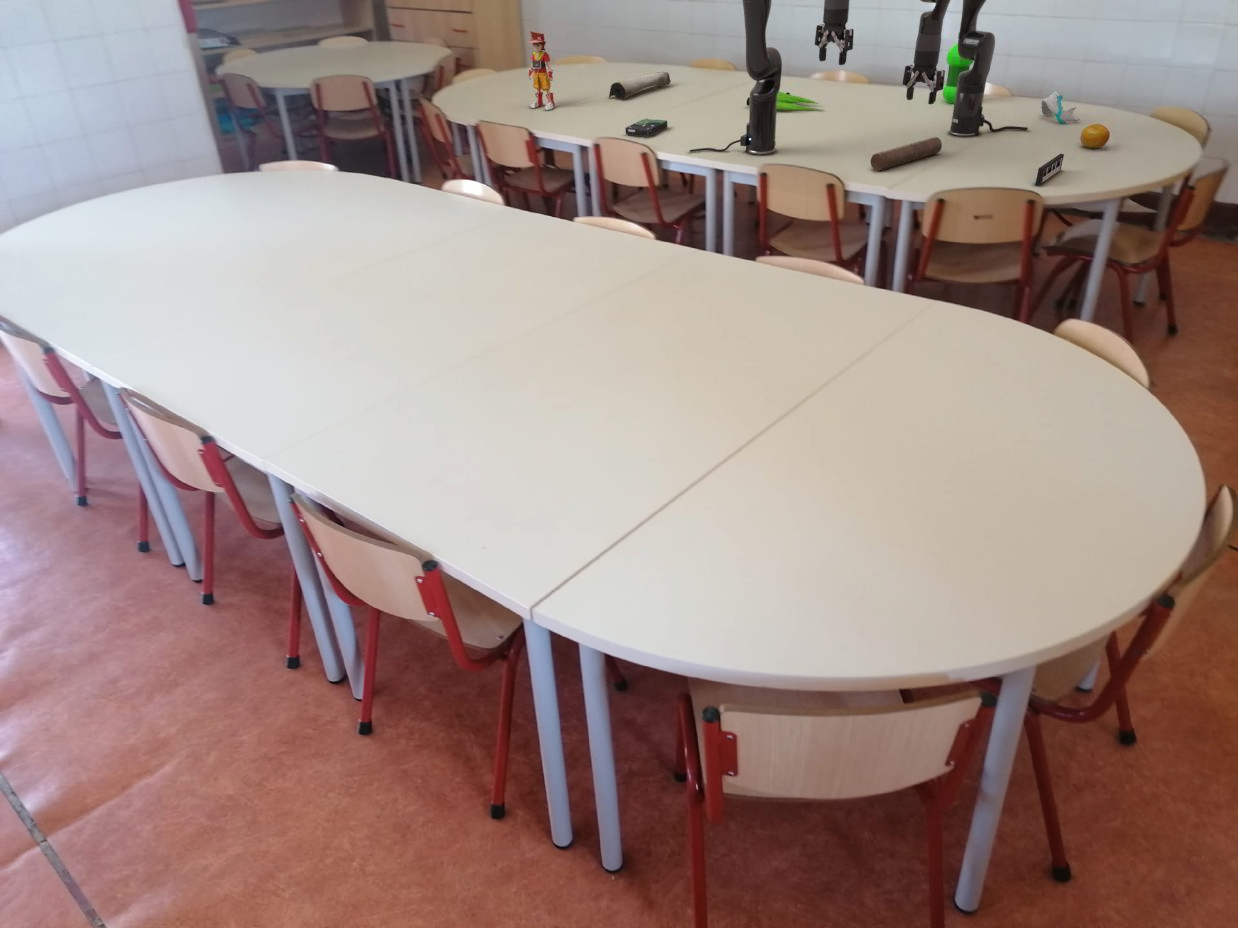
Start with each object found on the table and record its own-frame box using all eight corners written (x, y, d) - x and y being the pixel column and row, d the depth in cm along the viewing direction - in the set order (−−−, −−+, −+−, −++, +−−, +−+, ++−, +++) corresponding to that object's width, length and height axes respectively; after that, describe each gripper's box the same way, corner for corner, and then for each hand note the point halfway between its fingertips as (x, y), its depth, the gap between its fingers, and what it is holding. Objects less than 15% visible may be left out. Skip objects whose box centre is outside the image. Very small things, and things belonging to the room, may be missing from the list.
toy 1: (525, 109, 381) (517, 32, 364) (534, 104, 388) (527, 28, 371) (550, 110, 377) (543, 32, 360) (559, 105, 384) (553, 28, 367)
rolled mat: (651, 76, 408) (662, 61, 399) (662, 93, 408) (674, 79, 400) (605, 92, 391) (616, 77, 383) (617, 110, 391) (628, 95, 383)
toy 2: (737, 109, 358) (807, 121, 345) (739, 95, 355) (810, 107, 342) (766, 99, 378) (833, 110, 366) (767, 86, 375) (835, 96, 363)
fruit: (1076, 138, 294) (1094, 116, 291) (1073, 141, 302) (1090, 120, 299) (1098, 153, 293) (1116, 131, 290) (1095, 155, 300) (1112, 134, 297)
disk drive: (648, 138, 335) (668, 127, 345) (648, 130, 333) (667, 120, 343) (625, 135, 340) (644, 125, 350) (624, 127, 338) (644, 117, 348)
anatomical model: (1035, 91, 328) (1062, 83, 328) (1034, 119, 334) (1061, 112, 334) (1054, 100, 316) (1083, 93, 315) (1053, 130, 322) (1081, 122, 321)
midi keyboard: (1039, 185, 269) (1043, 168, 266) (1035, 184, 270) (1038, 168, 267) (1060, 170, 279) (1064, 154, 277) (1056, 169, 280) (1060, 153, 277)
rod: (927, 152, 303) (930, 135, 300) (940, 155, 299) (943, 138, 296) (869, 169, 291) (871, 152, 288) (882, 172, 287) (884, 155, 284)
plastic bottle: (973, 101, 354) (984, 32, 339) (955, 106, 349) (966, 36, 335) (952, 97, 361) (962, 29, 346) (934, 102, 356) (944, 33, 342)
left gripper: (811, 5, 278) (807, 61, 287) (844, 10, 268) (839, 68, 278) (828, 2, 281) (824, 58, 291) (862, 7, 271) (857, 64, 281)
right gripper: (901, 47, 288) (895, 100, 297) (938, 53, 278) (931, 107, 287) (917, 44, 291) (910, 96, 300) (954, 49, 281) (945, 103, 291)
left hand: (832, 63), depth 284 cm, fingers open, 8 cm apart
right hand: (920, 102), depth 294 cm, fingers open, 8 cm apart
